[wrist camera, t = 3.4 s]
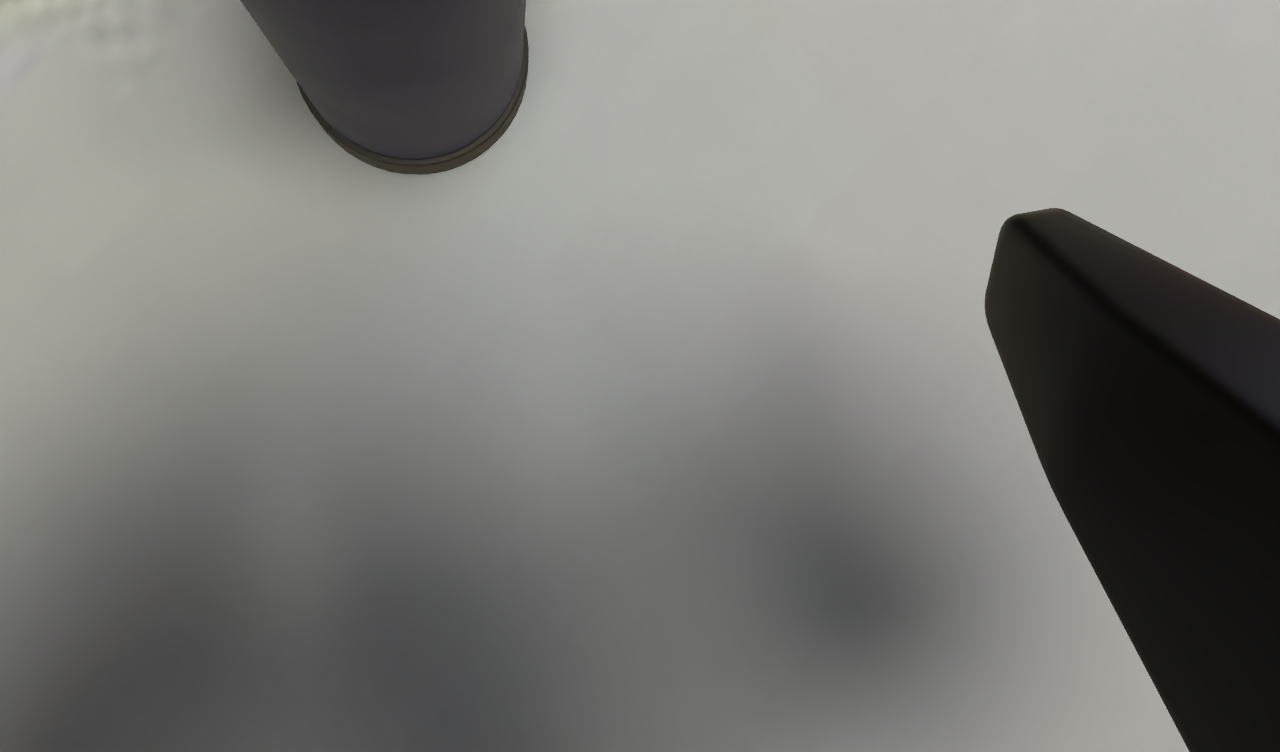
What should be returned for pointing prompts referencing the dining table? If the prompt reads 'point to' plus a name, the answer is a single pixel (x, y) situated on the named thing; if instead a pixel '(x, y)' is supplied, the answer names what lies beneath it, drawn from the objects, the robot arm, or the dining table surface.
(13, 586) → the dining table surface
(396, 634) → the dining table surface
